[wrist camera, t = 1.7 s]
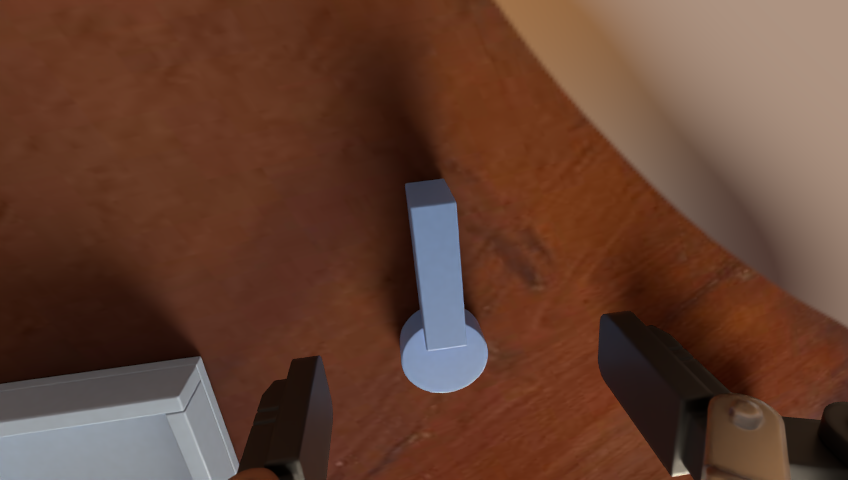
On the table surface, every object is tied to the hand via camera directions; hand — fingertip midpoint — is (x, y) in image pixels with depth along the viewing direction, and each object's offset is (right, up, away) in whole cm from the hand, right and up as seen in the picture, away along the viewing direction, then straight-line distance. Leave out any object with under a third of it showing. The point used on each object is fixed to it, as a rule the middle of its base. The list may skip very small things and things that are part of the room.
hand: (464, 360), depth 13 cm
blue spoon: (-1, +1, +7) cm, 7 cm away
